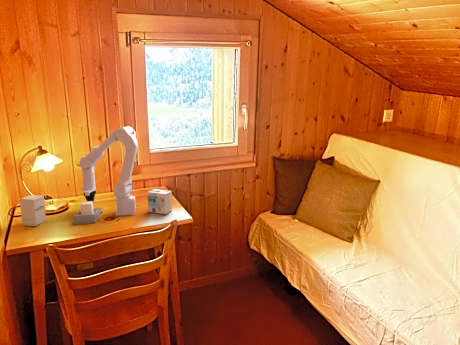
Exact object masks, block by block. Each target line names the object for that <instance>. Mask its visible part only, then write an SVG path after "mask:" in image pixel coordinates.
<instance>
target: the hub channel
mask: <svg viewBox="0 0 460 345" xmlns="http://www.w3.org/2000/svg"><path fill="white" fill-rule="evenodd" d="M100 214H101V213H100V212H99V209H97V210H96V212H94V213H93V214H85V215H81V209H80V210H78V212H77V214H73V222H72V224H73V225H83V224H87V225H88V224H96V223H97V221H98V220H99V217H100Z"/></svg>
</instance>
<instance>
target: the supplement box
mask: <svg viewBox="0 0 460 345" xmlns="http://www.w3.org/2000/svg"><path fill="white" fill-rule="evenodd" d="M19 205H20V213H21V214H20V215H21V216H20V217H21V223H22V224H21V225H23V226H29V227H30V226H31V227H37V226H39V225H40V224H42V223H44V222H47V216H46V214H47V213H46V204H45V196H44V195H35V194H30V195H28V196H24V197H22V198H19Z"/></svg>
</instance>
